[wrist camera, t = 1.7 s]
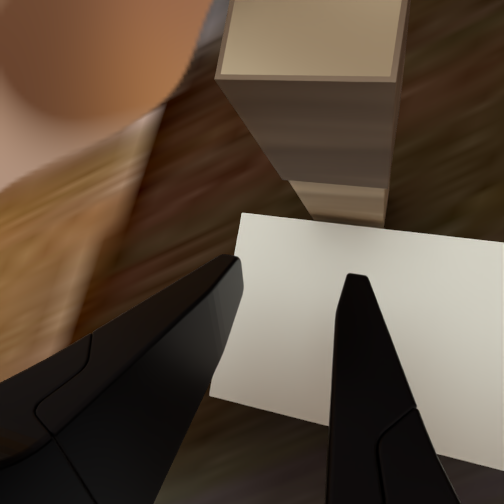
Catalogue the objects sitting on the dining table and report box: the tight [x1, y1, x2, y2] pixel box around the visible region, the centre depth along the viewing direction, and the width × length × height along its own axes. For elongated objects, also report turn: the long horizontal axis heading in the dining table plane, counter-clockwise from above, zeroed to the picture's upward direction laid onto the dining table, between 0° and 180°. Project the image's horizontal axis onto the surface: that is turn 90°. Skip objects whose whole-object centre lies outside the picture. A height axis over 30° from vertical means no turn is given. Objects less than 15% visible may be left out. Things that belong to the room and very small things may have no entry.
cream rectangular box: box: [209, 213, 504, 471], centre depth 19 cm, size 8×14×4 cm, turn 80°
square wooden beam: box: [215, 0, 411, 229], centre depth 14 cm, size 9×9×15 cm
